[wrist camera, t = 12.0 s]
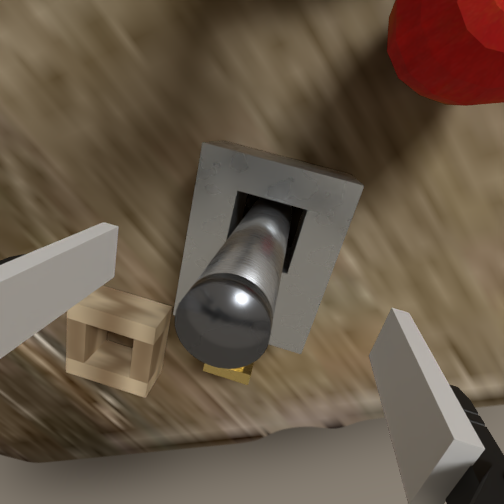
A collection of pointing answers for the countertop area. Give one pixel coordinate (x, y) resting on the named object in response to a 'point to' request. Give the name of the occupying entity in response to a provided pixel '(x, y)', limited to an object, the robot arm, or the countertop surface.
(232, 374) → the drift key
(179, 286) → the socket block
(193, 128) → the countertop surface
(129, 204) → the countertop surface
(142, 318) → the wooden square frame
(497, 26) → the apple
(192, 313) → the rod
